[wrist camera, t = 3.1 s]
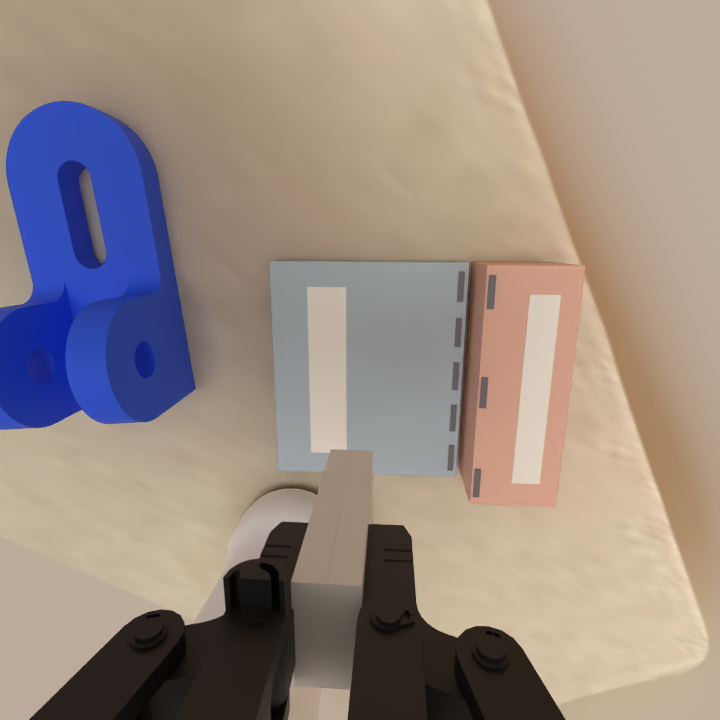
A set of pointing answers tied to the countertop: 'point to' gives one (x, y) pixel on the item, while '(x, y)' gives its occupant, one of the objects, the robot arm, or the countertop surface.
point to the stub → (518, 380)
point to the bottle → (249, 546)
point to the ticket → (369, 362)
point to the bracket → (90, 278)
